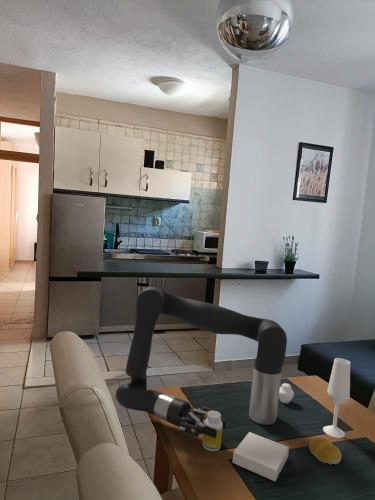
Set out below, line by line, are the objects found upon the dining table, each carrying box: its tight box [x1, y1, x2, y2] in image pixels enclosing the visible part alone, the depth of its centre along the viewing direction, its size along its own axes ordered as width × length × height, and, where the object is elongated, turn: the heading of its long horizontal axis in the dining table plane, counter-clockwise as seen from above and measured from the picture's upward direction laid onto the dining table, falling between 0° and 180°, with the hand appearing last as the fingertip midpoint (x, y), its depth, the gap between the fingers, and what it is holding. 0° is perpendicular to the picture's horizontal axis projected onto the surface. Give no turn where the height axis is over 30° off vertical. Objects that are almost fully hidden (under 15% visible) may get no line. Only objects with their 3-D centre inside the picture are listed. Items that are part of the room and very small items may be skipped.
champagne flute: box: [322, 357, 351, 439], centre depth 117 cm, size 7×7×24 cm
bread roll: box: [308, 437, 343, 465], centre depth 105 cm, size 8×9×4 cm
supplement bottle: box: [202, 410, 223, 452], centre depth 105 cm, size 5×5×10 cm
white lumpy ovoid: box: [279, 382, 295, 404], centre depth 136 cm, size 6×6×7 cm
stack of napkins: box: [232, 431, 290, 482], centre depth 100 cm, size 12×12×3 cm
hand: (221, 429), depth 103 cm, fingers closed on supplement bottle, 5 cm apart
